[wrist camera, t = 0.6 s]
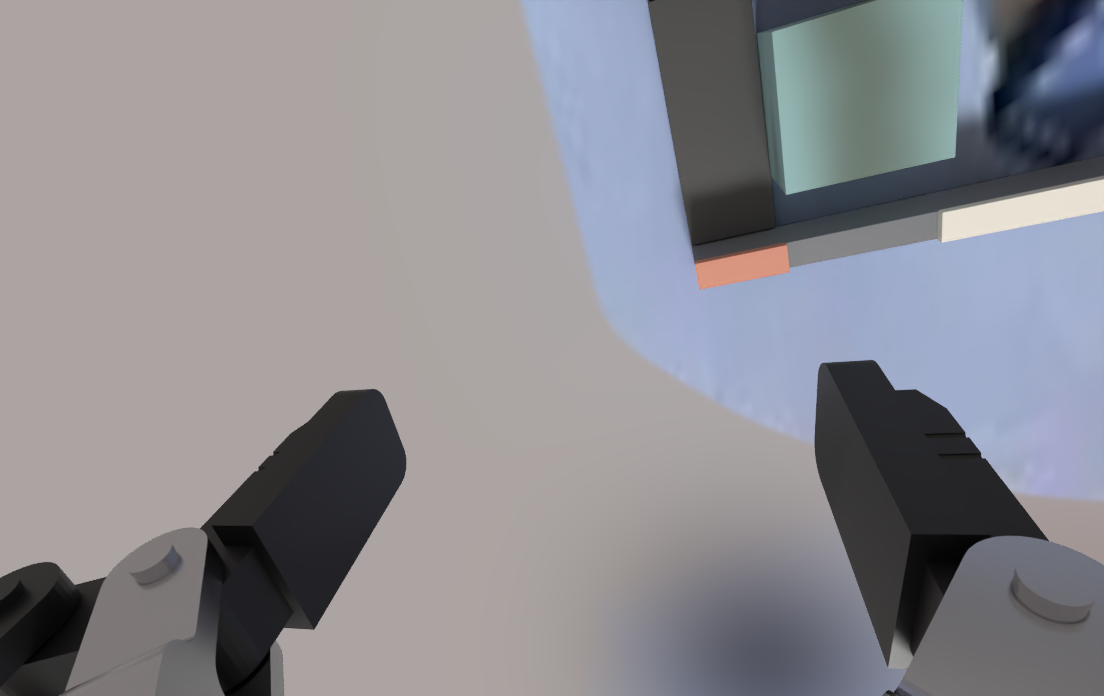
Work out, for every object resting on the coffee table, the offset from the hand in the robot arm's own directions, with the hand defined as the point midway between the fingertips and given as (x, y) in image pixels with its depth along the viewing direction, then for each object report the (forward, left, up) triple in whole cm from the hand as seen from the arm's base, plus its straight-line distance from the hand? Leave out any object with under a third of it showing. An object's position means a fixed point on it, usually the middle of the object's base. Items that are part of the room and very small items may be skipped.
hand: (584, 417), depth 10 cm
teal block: (-9, -2, -20) cm, 22 cm away
